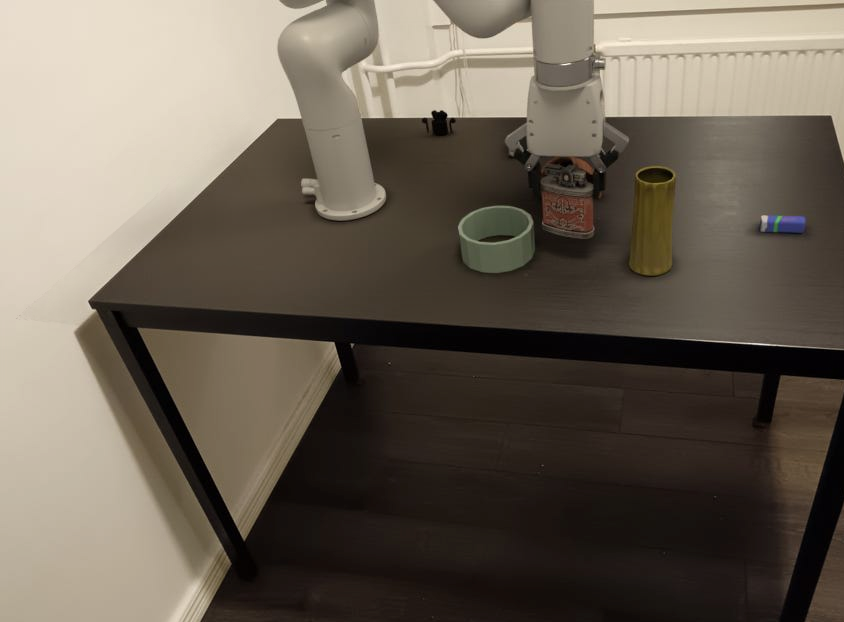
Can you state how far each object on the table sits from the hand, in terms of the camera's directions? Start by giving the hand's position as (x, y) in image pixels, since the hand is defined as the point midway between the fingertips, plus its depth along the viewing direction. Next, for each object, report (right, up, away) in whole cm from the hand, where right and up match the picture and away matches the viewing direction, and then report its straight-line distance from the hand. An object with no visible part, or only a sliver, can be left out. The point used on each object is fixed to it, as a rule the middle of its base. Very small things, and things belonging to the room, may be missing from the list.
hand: (567, 192), depth 106 cm
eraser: (+33, -4, +6) cm, 34 cm away
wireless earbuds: (-19, +22, +46) cm, 54 cm away
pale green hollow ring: (-9, -7, +10) cm, 15 cm away
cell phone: (-1, +16, +36) cm, 39 cm away
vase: (+12, -10, +3) cm, 16 cm away
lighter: (+1, -5, +4) cm, 6 cm away
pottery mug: (+4, +4, +21) cm, 22 cm away
